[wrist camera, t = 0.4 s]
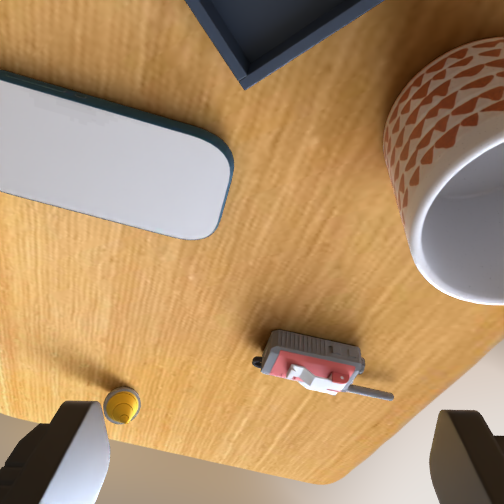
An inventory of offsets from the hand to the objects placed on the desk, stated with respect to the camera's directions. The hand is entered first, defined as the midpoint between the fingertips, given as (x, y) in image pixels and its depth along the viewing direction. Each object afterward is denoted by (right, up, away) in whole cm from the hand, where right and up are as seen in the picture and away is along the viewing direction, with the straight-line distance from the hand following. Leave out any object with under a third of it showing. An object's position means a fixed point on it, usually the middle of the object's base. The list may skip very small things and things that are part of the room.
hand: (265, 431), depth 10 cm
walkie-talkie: (+10, -10, +46) cm, 48 cm away
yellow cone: (-19, -16, +55) cm, 61 cm away
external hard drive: (-14, +13, +28) cm, 34 cm away
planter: (+17, +14, +24) cm, 32 cm away
